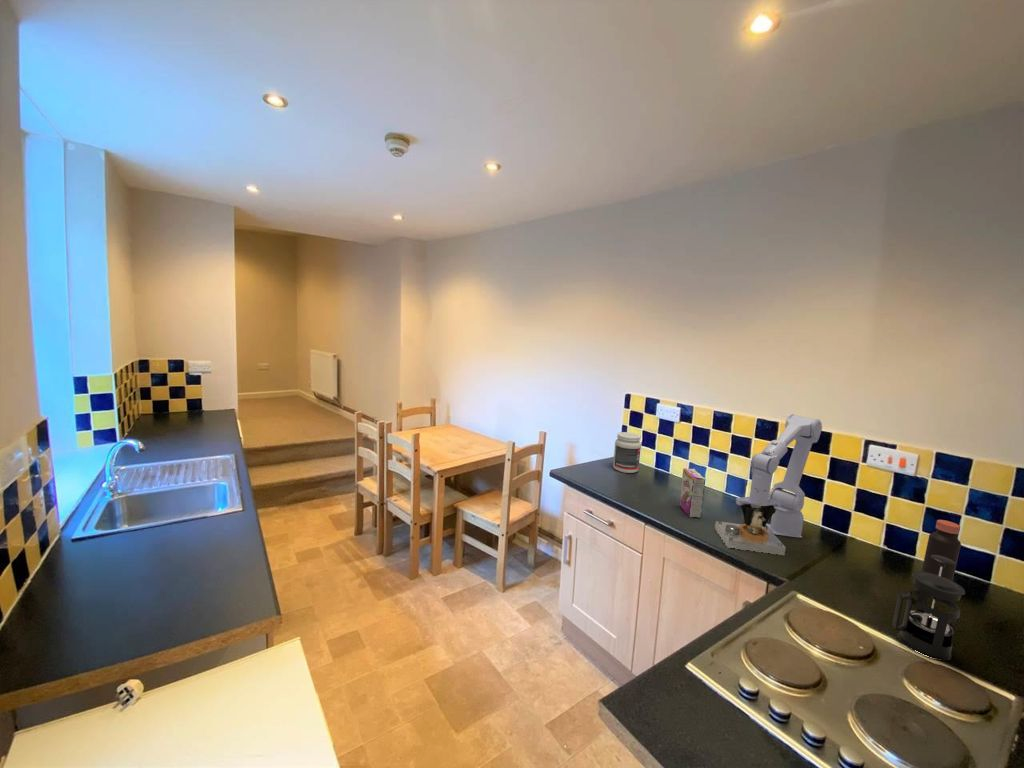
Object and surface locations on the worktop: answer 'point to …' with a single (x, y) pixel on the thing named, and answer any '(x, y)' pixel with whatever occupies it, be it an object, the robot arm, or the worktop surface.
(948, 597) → the french press
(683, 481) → the candy bar box
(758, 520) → the tan piece
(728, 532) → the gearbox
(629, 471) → the supplement tub
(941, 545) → the bottle
